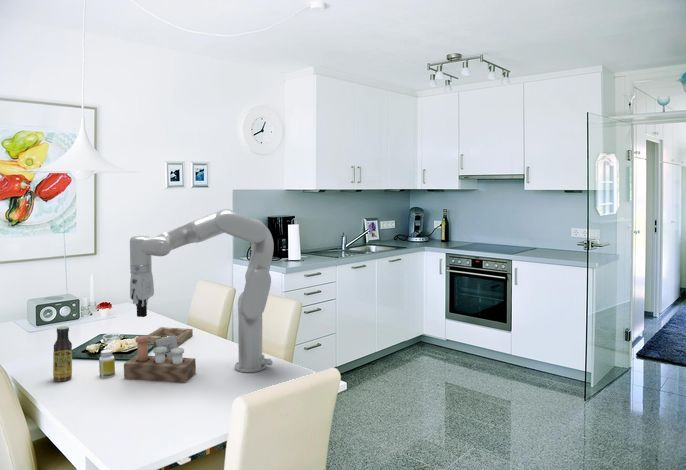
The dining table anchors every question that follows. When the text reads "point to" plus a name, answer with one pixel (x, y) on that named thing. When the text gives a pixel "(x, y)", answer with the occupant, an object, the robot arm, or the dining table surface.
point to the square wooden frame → (171, 334)
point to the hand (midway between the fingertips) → (141, 316)
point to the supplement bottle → (106, 364)
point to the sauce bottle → (62, 356)
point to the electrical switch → (167, 344)
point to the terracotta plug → (142, 348)
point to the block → (160, 370)
